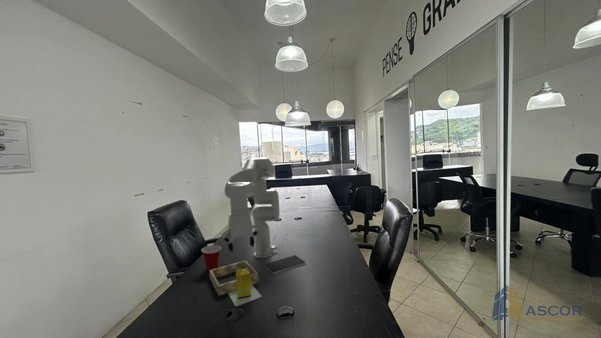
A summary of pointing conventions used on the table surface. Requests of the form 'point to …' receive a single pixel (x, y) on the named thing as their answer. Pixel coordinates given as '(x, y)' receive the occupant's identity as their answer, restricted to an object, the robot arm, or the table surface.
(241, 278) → the supplement box
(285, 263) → the notebook
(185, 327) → the table surface
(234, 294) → the mat
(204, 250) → the plastic cup
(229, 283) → the wooden frame
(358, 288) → the table surface
